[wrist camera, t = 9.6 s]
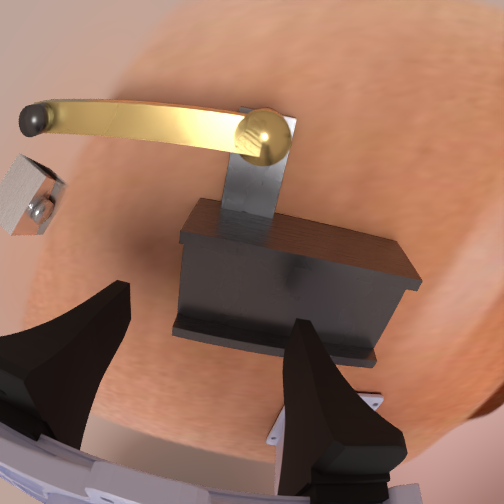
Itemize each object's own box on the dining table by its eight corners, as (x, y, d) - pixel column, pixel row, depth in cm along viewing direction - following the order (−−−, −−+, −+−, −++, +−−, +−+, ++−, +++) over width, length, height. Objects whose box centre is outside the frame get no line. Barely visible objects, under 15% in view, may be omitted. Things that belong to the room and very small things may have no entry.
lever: (48, 133, 11) (18, 144, 9) (50, 92, 10) (19, 97, 8) (284, 162, 11) (286, 178, 9) (294, 114, 10) (299, 119, 9)
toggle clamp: (359, 322, 20) (372, 368, 16) (188, 290, 19) (172, 335, 16) (428, 154, 15) (466, 176, 11) (217, 98, 14) (198, 101, 11)
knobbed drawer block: (20, 213, 19) (48, 239, 20) (-15, 209, 14) (17, 241, 15) (49, 168, 19) (79, 193, 20) (19, 153, 14) (53, 182, 15)
